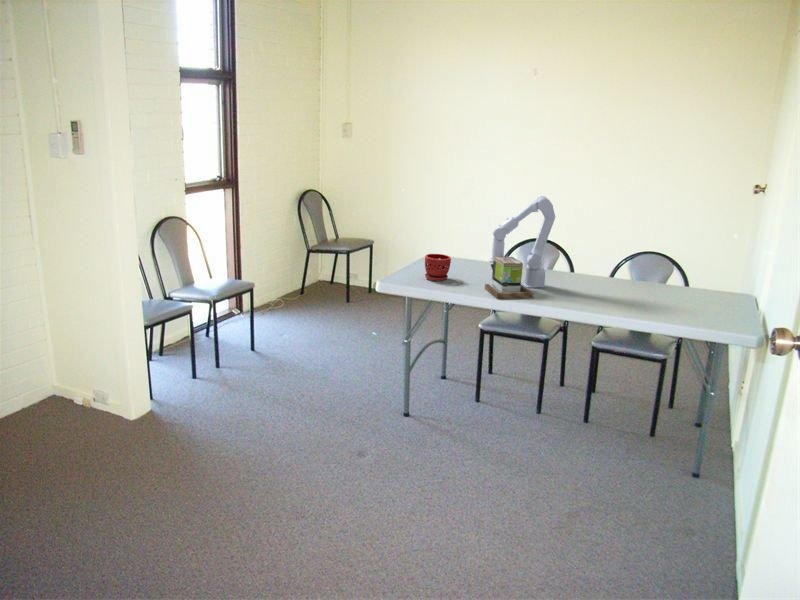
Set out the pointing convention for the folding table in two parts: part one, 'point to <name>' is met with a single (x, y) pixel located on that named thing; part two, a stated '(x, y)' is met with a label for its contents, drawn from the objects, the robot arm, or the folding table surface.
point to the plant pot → (437, 266)
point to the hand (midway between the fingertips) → (496, 278)
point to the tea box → (507, 274)
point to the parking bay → (509, 293)
